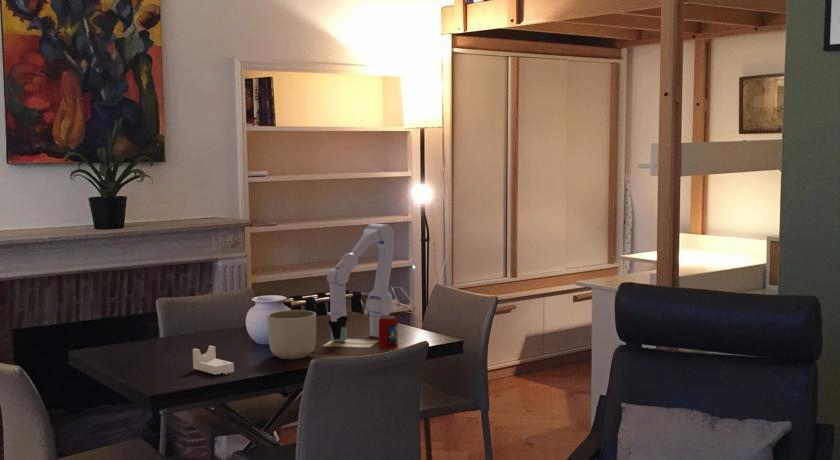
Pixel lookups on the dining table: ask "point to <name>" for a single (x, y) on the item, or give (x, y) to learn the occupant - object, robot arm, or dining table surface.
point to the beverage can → (388, 332)
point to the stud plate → (353, 343)
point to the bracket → (211, 362)
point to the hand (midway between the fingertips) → (338, 337)
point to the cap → (342, 337)
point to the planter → (292, 333)
